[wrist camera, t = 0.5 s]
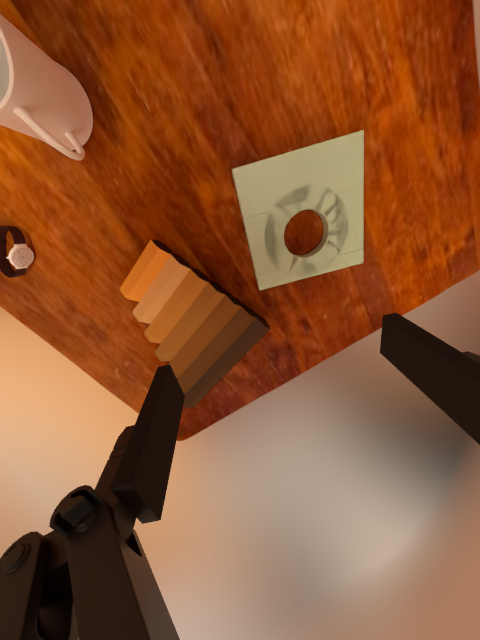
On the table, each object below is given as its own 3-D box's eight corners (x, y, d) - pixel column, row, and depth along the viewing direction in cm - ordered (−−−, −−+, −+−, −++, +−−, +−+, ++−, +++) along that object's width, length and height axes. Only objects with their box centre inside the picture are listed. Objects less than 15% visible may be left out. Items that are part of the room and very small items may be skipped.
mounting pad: (231, 171, 32) (231, 169, 30) (355, 134, 31) (363, 129, 29) (258, 286, 40) (259, 290, 38) (357, 260, 39) (363, 262, 37)
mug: (126, 153, 30) (73, 122, 19) (79, 188, 32) (6, 178, 21) (52, 41, 25) (-73, -82, 14) (0, 89, 27) (-149, 9, 16)
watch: (36, 278, 37) (17, 285, 33) (2, 268, 36) (-20, 274, 32) (35, 231, 34) (15, 233, 30) (-2, 219, 33) (-26, 220, 29)
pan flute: (195, 399, 51) (268, 323, 43) (193, 411, 48) (272, 331, 40) (87, 344, 43) (154, 237, 35) (76, 354, 40) (148, 240, 32)
